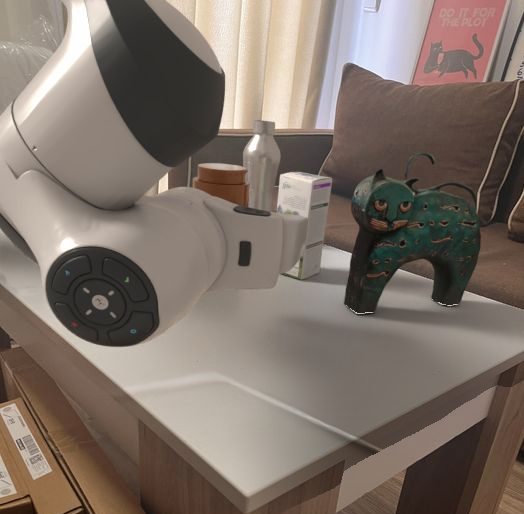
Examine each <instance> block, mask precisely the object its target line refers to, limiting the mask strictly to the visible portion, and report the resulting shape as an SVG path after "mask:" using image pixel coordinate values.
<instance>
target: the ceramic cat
mask: <svg viewBox="0 0 524 514" xmlns="http://www.w3.org/2000/svg"><path fill="white" fill-rule="evenodd" d="M419 156H426V157H427V158H428V159H429V160H430V162H431V166H434V165H435V163H436V159H435V157H434V155H433V154H431V153H430V152H429V151H418V152H416V153H414V154H412V155H411V156H410V157H409V159H408V160H407V163H406V166H405V169H404V180H399V179H398V180H397V179H394V178H393V177H389V176H386V175H385V174H384V170H383V168H382V167H381V168H379V169H378V170H377V171H375V173H374V174H373V175H370V176H367V177H366V178H364V179H362V180H361V181H359V183H358V184H357V185H356V187H355V189H354V192H353V195H352V198H351V202H350V212H351V215H352V217H353V219H354V221H355V222H356V223H357V225H358V232H357V235H356V238H355V242H354V246H353V249H352V252H351V256H350V261H349V271H348V276H347V281H346V287H345V291H344V292H345V293H344V299H343V300H344V301H343V305H344V304H345V305H347V306H348V307H349V308H351V309H352V310H354V311H355V312H357V313H365V312H374V311H375V312H376V309H377V307H378V304H379V301H380V299H381V297H382V294H383V292H384V290H385V288H386V286H387V285H388V284H389V282H390V281H391V279H392V278H393V277H394V275H395V274H396V272H397V271H398V270H400V268H401V267H402V266H404V265H405V264H409V263H411V262H416V261H418V260H425V261H427V262H429V263H430V264H431V265H432V268H433V272H434V273H433V286H432V291H431V295H430V299H431V298H432V299H433V300H435V301H437V302H440V303H442V304H446V305H453V304H459V303H460V304H461V301H462V299H463V296H464V294H465V291H466V288H467V286H468V284H469V283H470V280H471V278H472V275H473V274H474V271H475V269H476V267H477V263H478V260H479V256H480V251H481V244H482V243H481V241H482V235H481V224H480V218H479V215H478V211H477V210H478V209H477V208H478V200H477V194H476V193H475V191H474V189H472V188H471V187H470V186H467V185H465V184H462V183H460V182H454V181H449V182H443V183H439V184H436V185H434V186H431V187H428V188H423V189H416V188H414V187H413V184H415V183H416V182H419V179H420V178H418V177H412V178H409V179H408V172H409V167H410V165H411V163H412V161H413V160H415V158H417V157H419ZM448 186H449V187H450V186H451V187H453V186H454V187H457V188H460V189H462V190H465V191H467V192H468V193H469V194H470V195H471V199H472V201H473V205H472V204H471V203H470V202H469V201H468V200H467V199H466V198H464V197H461V196H459V195H456V194H453V193H449V192H446V191H443V190H440V189H441V188H443V187H448ZM432 299H431V300H432ZM433 300H432V301H433ZM435 301H434V302H435ZM437 302H436V303H437ZM460 304H459V305H460ZM345 305H344V306H345ZM375 312H374V313H375Z"/></svg>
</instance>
